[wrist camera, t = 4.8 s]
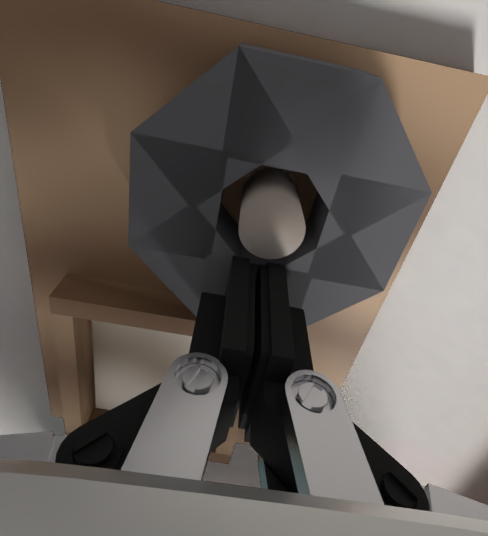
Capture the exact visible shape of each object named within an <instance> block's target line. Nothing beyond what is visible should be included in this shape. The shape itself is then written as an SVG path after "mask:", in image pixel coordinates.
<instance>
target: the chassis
mask: <svg viewBox="0 0 488 536" xmlns="http://www.w3.org/2000/svg"><path fill="white" fill-rule="evenodd" d="M242 43H244V44H249V45H253V46H258V47H262V48H267V49H271V50H276V51H280V52H285V53H289V54H294V55H298V56H303V57H307V58H312V59H316V60H321V61H326V62H330V63H335V64H339V65H344V66H348V67H353V68H357V69H362V70H364V71H367V72H369V73H372V74H374V75H377V76H379V77H382V79H383V82H384V84H385V86H386V89H387V91H388V93H389V95H390V98H391V100H392V102H393V105H394V107H395V109H396V111H397V114H398V116H399V118H400V121H401V123H402V125H403V127H404V130H405V132H406V134H407V137H408V139H409V141H410V144H411V146H412V148H413V150H414V153H415V155H416V157H417V160H418V162H419V164H420V166H421V169H422V171H423V173H424V176H425V178H426V180H427V182H428V185H429V187H430V189H431V192H432V194H431V196H430V198H429V200H428V202H427V204H426V206H425V208H424V210H423V212H422V214H421V216H420V218H419V220H418V222H417V224H416V226H415V228H414V230H413V232H412V235H411V237H410V239H409V241H408V243H407V245H406V247H405V249H404V251H403V253H402V255H401V257H400V259H399V261H398V263H397V265H396V267H395V269H394V271H393V273H392V275H391V277H390V279H389V281H388V283H387V286H386V288H385V290H384V291H383V292H381V293H378V294H376V295H374V296H372V297H370V298H368V299H365V300H363V301H361V302H359V303H357V304H355V305H352V306H350V307H348V308H346V309H344V310H342V311H339V312H337V313H335V314H333V315H331V316H329V317H326V318H324V319H322V320H320V321H318V322H316V323H313V324H311V325H309V326H307V332H308V338H309V344H310V351H311V357H312V363H313V370H314V371H316V372H319V373H321V374H323V375H325V376H326V377H328V378H329V379H331V380H332V381H333V382H334V383H335V384H336V386H337V387H338V389H339V390H340V388H341V386H342V384H343V382H344V380H345V378H346V376H347V374H348V372H349V370H350V368H351V366H352V364H353V362H354V360H355V358H356V356H357V354H358V352H359V350H360V348H361V346H362V344H363V342H364V340H365V338H366V336H367V334H368V332H369V330H370V328H371V326H372V324H373V322H374V320H375V318H376V316H377V314H378V312H379V310H380V308H381V306H382V304H383V302H384V300H385V298H386V296H387V294H388V292H389V290H390V288H391V286H392V284H393V282H394V280H395V278H396V276H397V274H398V272H399V270H400V268H401V266H402V264H403V262H404V260H405V258H406V256H407V254H408V252H409V250H410V248H411V246H412V244H413V242H414V240H415V238H416V236H417V234H418V232H419V230H420V228H421V226H422V224H423V222H424V220H425V218H426V216H427V214H428V212H429V210H430V208H431V206H432V204H433V202H434V200H435V198H436V196H437V194H438V192H439V190H440V188H441V186H442V184H443V182H444V180H445V178H446V176H447V174H448V172H449V170H450V168H451V166H452V164H453V162H454V160H455V158H456V156H457V154H458V152H459V150H460V148H461V146H462V144H463V142H464V140H465V138H466V136H467V134H468V132H469V130H470V128H471V126H472V124H473V122H474V120H475V118H476V116H477V114H478V112H479V110H480V108H481V106H482V104H483V102H484V100H485V98H486V96H487V94H488V76H486V75H482V74H477V73H473V72H469V71H464V70H460V69H455V68H451V67H446V66H442V65H438V64H433V63H429V62H424V61H420V60H416V59H411V58H407V57H402V56H398V55H393V54H389V53H385V52H380V51H376V50H371V49H367V48H362V47H358V46H354V45H349V44H345V43H340V42H336V41H332V40H327V39H323V38H318V37H314V36H309V35H305V34H301V33H296V32H292V31H287V30H283V29H279V28H274V27H270V26H265V25H261V24H256V23H252V22H248V21H243V20H239V19H234V18H230V17H225V16H221V15H217V14H212V13H208V12H203V11H199V10H195V9H190V8H186V7H181V6H177V5H172V4H168V3H164V2H159V1H155V0H0V78H1V84H2V91H3V97H4V104H5V111H6V117H7V124H8V131H9V137H10V144H11V150H12V157H13V164H14V170H15V177H16V184H17V190H18V197H19V203H20V210H21V217H22V223H23V230H24V237H25V243H26V250H27V256H28V263H29V270H30V276H31V283H32V290H33V296H34V303H35V309H36V316H37V323H38V329H39V336H40V342H41V349H42V356H43V362H44V369H45V376H46V382H47V389H48V395H49V402H50V409H51V415H52V416H56V417H62V418H64V426H65V434H66V435H68V434H70V433H71V432H72V431H74V430H75V429H77V428H78V427H80V426H81V425H83V424H85V423H87V422H89V421H91V420H93V419H95V418H96V417H98V416H100V415H102V414H104V413H106V412H108V411H110V410H111V409H113V408H115V407H117V406H119V405H121V404H123V403H124V402H126V401H128V400H130V399H132V398H134V397H136V396H138V395H139V394H141V393H143V392H145V391H147V390H149V389H151V388H152V387H154V386H156V385H158V384H160V383H162V381H163V379H164V377H165V375H166V373H167V371H168V369H169V367H170V365H171V364H172V363H173V361H174V360H176V359H177V358H178V357H180V356H182V355H185V354H188V353H189V349H190V345H191V340H192V335H193V331H194V326H195V321H196V316H195V315H194V314H193V313H192V312H191V311H190V310H189V309H188V308H187V307H186V306H185V305H184V304H183V302H182V301H181V300H180V299H179V298H178V297H177V296H176V295H175V294H174V293H173V292H172V291H171V290H170V289H169V288H168V287H167V286H166V285H165V284H164V283H163V281H162V280H161V279H160V278H159V277H158V276H157V275H156V274H155V273H154V272H153V271H152V270H151V269H150V268H149V267H148V266H147V265H146V264H145V263H144V262H143V260H142V259H141V258H140V257H139V256H138V255H137V254H136V253H135V252H134V251H133V250H132V249H131V248H130V247H129V246H128V224H129V177H130V132H131V131H133V130H134V129H135V128H136V127H138V126H139V125H140V124H141V123H143V122H144V121H145V120H146V119H148V118H149V117H150V116H152V115H153V114H154V113H155V112H157V111H158V110H159V109H160V108H162V107H163V106H164V105H165V104H167V103H168V102H169V101H170V100H172V99H173V98H174V97H175V96H177V95H178V94H179V93H180V92H182V91H183V90H184V89H185V88H187V87H188V86H189V85H190V84H192V83H193V82H194V81H195V80H197V79H198V78H199V77H200V76H202V75H203V74H204V73H206V72H207V71H208V70H209V69H211V68H212V67H213V66H214V65H216V64H217V63H218V62H219V61H221V60H222V59H223V58H224V57H226V56H227V55H228V54H229V53H231V52H232V51H233V50H234V49H236V48H237V47H238V46H239V45H240V44H242ZM316 195H317V189H316V188H315V186H314V184H313V183H312V181H311V179H310V178H309V176H308V174H305V173H300V172H295V171H290V170H285V169H280V168H275V167H270V166H265V165H260V166H258V167H257V168H255V169H254V170H252V171H250V172H249V173H247V174H246V175H244V176H243V177H241V178H240V179H238V180H237V181H235V182H234V183H232V184H231V185H229V186H228V187H226V188H224V192H223V198H222V204H223V205H224V207H225V208H226V209H227V211H228V212H229V213H230V215H231V216H232V217H233V219H234V220H235V221H236V223H237V224H238V225H239V228H238V232H239V237H240V240H241V242H242V244H243V246H244V247H245V248H246V249H247V250H248V251H249V252H250V253H252V254H253V255H255V256H257V257H260V258H264V259H279V258H283V257H285V256H288V255H290V254H291V253H293V252H294V251H295V250H296V249H297V248H298V247H299V246H300V245H301V243H302V241H303V239H304V236H305V231H306V226H305V221H307V220H309V217H310V214H311V211H312V208H313V204H314V201H315V198H316ZM238 417H239V408H238V411H237V415H236V418H235V422H234V425H233V427H230V428H229V432H228V435H227V439H226V441H225V442H224V443H222V444H221V445H220V446H218V447H217V448H216V449H214V450H213V451H212V452H210V456H209V460H208V461H211V462H218V463H225V464H229V462H230V458H231V455H232V452H233V448H234V445H235V442H236V443H243V444H250V442H244V434H245V429H239V428H238Z"/></svg>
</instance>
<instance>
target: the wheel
mask: <svg viewBox="0 0 488 536" xmlns="http://www.w3.org/2000/svg"><path fill="white" fill-rule="evenodd" d="M260 165H265V166H270V167H275V168H280V169H285V170H290V171H295V172H300V173H305V174H308V176H309V178H310V179H311V181H312V183H313V184H314V186H315V188H316V189H317V195H316V198H315V201H314V204H313V208H312V211H311V214H310V217H309V220H307V221H305V226H306V231H305V236H304V239H303V241H302V243H301V245H300V246H299V247H298V248H297V249H296V250H295V251H294V252H293V253H291V254H290V255H288V256H285V257H283V258H279V259H264V258H260V257H257V256H255V255H253V254H252V253H250V252H249V251H248V250H247V249H246V248H245V247H244V246H243V244H242V242H241V240H240V237H239V232H238V228H239V225H238V224H237V223H236V221H235V220H234V219H233V217H232V216H231V215H230V213H229V212H228V211H227V209H226V208H225V207H224V205H223V204H222V198H223V192H224V188H226V187H228V186H229V185H231V184H232V183H234V182H235V181H237V180H238V179H240V178H241V177H243V176H244V175H246V174H247V173H249V172H250V171H252V170H254V169H255V168H257V167H258V166H260ZM431 194H432V192H431V189H430V187H429V185H428V182H427V180H426V178H425V176H424V173H423V171H422V169H421V166H420V164H419V162H418V160H417V157H416V155H415V153H414V150H413V148H412V146H411V144H410V141H409V139H408V137H407V134H406V132H405V130H404V127H403V125H402V123H401V121H400V118H399V116H398V114H397V111H396V109H395V107H394V105H393V102H392V100H391V98H390V95H389V93H388V91H387V89H386V86H385V84H384V82H383V79H382V77H379V76H377V75H374V74H372V73H369V72H367V71H364V70H362V69H357V68H353V67H348V66H344V65H339V64H335V63H330V62H326V61H321V60H316V59H312V58H307V57H303V56H298V55H294V54H289V53H285V52H280V51H276V50H271V49H267V48H262V47H258V46H253V45H249V44H244V43H242V44H240V45H239V46H238V47H237V48H236V49H234V50H233V51H232V52H231V53H229V54H228V55H227V56H226V57H224V58H223V59H222V60H221V61H219V62H218V63H217V64H216V65H214V66H213V67H212V68H211V69H209V70H208V71H207V72H206V73H204V74H203V75H202V76H200V77H199V78H198V79H197V80H195V81H194V82H193V83H192V84H190V85H189V86H188V87H187V88H185V89H184V90H183V91H182V92H180V93H179V94H178V95H177V96H175V97H174V98H173V99H172V100H170V101H169V102H168V103H167V104H165V105H164V106H163V107H162V108H160V109H159V110H158V111H157V112H155V113H154V114H153V115H152V116H150V117H149V118H148V119H146V120H145V121H144V122H143V123H141V124H140V125H139V126H138V127H136V128H135V129H134V130H133V131H131V132H130V177H129V224H128V246H129V247H130V248H131V249H132V250H133V251H134V252H135V253H136V254H137V255H138V256H139V257H140V258H141V259H142V260H143V262H144V263H145V264H146V265H147V266H148V267H149V268H150V269H151V270H152V271H153V272H154V273H155V274H156V275H157V276H158V277H159V278H160V279H161V280H162V281H163V283H164V284H165V285H166V286H167V287H168V288H169V289H170V290H171V291H172V292H173V293H174V294H175V295H176V296H177V297H178V298H179V299H180V300H181V301H182V302H183V304H184V305H185V306H186V307H187V308H188V309H189V310H190V311H191V312H192V313H193V314H194V315H195V316H196V317H197V312H198V308H199V303H200V298H201V294H202V292H207V293H213V294H219V295H225V291H226V286H227V281H228V276H229V271H230V266H231V261H232V257H233V256H238V257H244V258H249V259H250V263H252V264H256V274H255V283H256V279H257V275H258V271H259V268H260V265H263V266H266V264H267V262H272V263H277V264H283V265H285V268H286V277H287V286H288V296H289V305H290V307H295V308H301V309H303V310H304V313H305V319H306V326H309V325H311V324H313V323H316V322H318V321H320V320H322V319H324V318H326V317H329V316H331V315H333V314H335V313H337V312H339V311H342V310H344V309H346V308H348V307H350V306H352V305H355V304H357V303H359V302H361V301H363V300H365V299H368V298H370V297H372V296H374V295H376V294H378V293H381V292H383V291H384V290H385V288H386V286H387V283H388V281H389V279H390V277H391V275H392V273H393V271H394V269H395V267H396V265H397V263H398V261H399V259H400V257H401V255H402V253H403V251H404V249H405V247H406V245H407V243H408V241H409V239H410V237H411V235H412V232H413V230H414V228H415V226H416V224H417V222H418V220H419V218H420V216H421V214H422V212H423V210H424V208H425V206H426V204H427V202H428V200H429V198H430V196H431Z"/></svg>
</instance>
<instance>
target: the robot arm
mask: <svg viewBox="0 0 488 536" xmlns="http://www.w3.org/2000/svg"><path fill="white" fill-rule="evenodd" d="M255 274H256V264H252V263H250V259H249V258H244V257H238V256H233V257H232V261H231V266H230V271H229V276H228V281H227V286H226V291H225V295H219V294H213V293H207V292H202V294H201V298H200V303H199V308H198V312H197V317H196V321H195V326H194V331H193V335H192V340H191V345H190V349H189V353H188V354H185V355H182V356H180V357H178V358H177V359H176V360H174V361H173V363H172V364H171V365H170V367H169V369H168V371H167V373H166V375H165V377H164V379H163V381H162V383H160V384H158V385H156V386H154V387H152V388H151V389H149V390H147V391H145V392H143V393H141V394H139V395H138V396H136V397H134V398H132V399H130V400H128V401H126V402H124V403H123V404H121V405H119V406H117V407H115V408H113V409H111V410H110V411H108V412H106V413H104V414H102V415H100V416H98V417H96V418H95V419H93V420H91V421H89V422H87V423H85V424H83V425H81V426H80V427H78V428H77V429H75V430H74V431H72V432H71V433H70V434H68V435H58V436H55V435H54V431H51V432H38V433H24V434H11V435H0V536H488V505H486V504H483V503H480V502H478V501H475V500H472V499H469V498H467V497H464V496H461V495H459V494H456V493H453V492H451V491H448V490H445V489H443V488H440V487H437V486H435V485H432V484H429V483H428V484H427V485H426V486H425V487H424V486H422V485H420V483H419V482H418V481H417V480H416V479H415V477H414V476H413V475H412V474H411V473H410V472H409V471H407V470H406V469H405V468H404V467H403V466H402V465H401V464H400V463H398V462H397V461H396V460H395V459H394V458H393V457H392V456H390V455H389V454H388V453H387V452H386V451H385V450H384V449H383V448H381V447H380V446H379V445H378V444H377V443H376V442H375V441H374V440H372V439H371V438H370V437H369V436H368V435H367V434H366V433H364V432H363V431H362V430H361V429H360V428H359V427H358V426H357V425H355V424H354V423H353V422H352V420H351V417H350V415H349V412H348V410H347V407H346V404H345V402H344V399H343V397H342V394H341V392H340V390H339V389H338V387H337V386H336V384H335V383H334V382H333V381H332V380H331V379H329V378H328V377H326V376H325V375H323V374H321V373H319V372H316V371H314V370H313V363H312V357H311V351H310V344H309V338H308V332H307V326H306V319H305V313H304V310H303V309H301V308H295V307H290V305H289V296H288V286H287V277H286V268H285V265H283V264H277V263H272V262H267V264H266V266H263V265H260V268H259V271H258V275H257V279H256V283H255ZM238 408H239V417H238V428H239V429H245V434H244V442H250V445H251V446H252V447H253V448H254V450H255V451H256V452H257V453H258V454H259V455H258V469H259V476H260V483H261V488H254V487H247V486H239V485H232V484H224V483H216V482H209V481H203V478H204V474H205V471H206V467H207V463H208V460H209V456H210V452H212V451H213V450H214V449H216V448H217V447H218V446H220V445H221V444H222V443H224V442H225V441H226V439H227V435H228V432H229V428H230V427H233V425H234V422H235V418H236V415H237V411H238Z"/></svg>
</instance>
